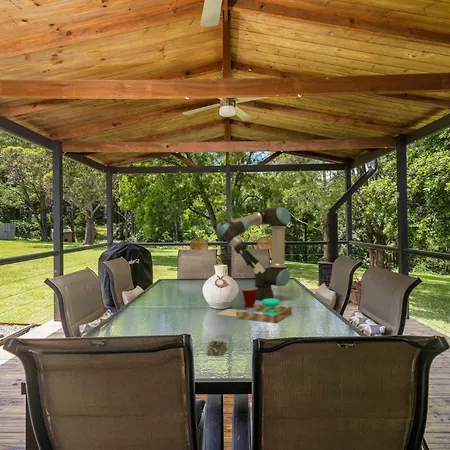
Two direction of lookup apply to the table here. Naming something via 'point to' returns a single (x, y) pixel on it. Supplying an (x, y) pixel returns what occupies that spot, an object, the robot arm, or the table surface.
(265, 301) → the donuts
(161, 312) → the table surface
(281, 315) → the wooden u-shaped frame
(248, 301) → the plastic cup
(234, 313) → the beige mat
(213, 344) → the rough brown lump
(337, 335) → the table surface
